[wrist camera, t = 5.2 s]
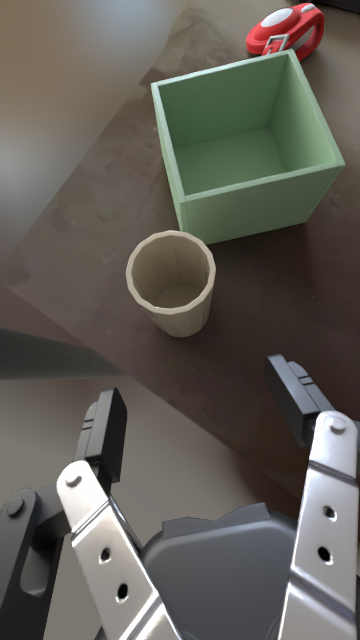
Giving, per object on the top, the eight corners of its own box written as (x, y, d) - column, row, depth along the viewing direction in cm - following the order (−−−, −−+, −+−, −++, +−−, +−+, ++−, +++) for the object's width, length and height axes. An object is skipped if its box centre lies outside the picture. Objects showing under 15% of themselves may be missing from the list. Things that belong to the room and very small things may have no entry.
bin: (184, 250, 28) (179, 203, 20) (162, 154, 31) (150, 83, 24) (305, 222, 27) (346, 164, 20) (269, 128, 31) (292, 48, 23)
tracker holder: (236, 22, 34) (312, -21, 31) (240, 63, 38) (308, 28, 35) (257, 56, 28) (352, 7, 26) (259, 100, 32) (342, 61, 30)
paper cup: (158, 342, 26) (133, 323, 16) (148, 289, 27) (120, 241, 17) (215, 330, 26) (225, 302, 16) (202, 277, 27) (204, 222, 17)
